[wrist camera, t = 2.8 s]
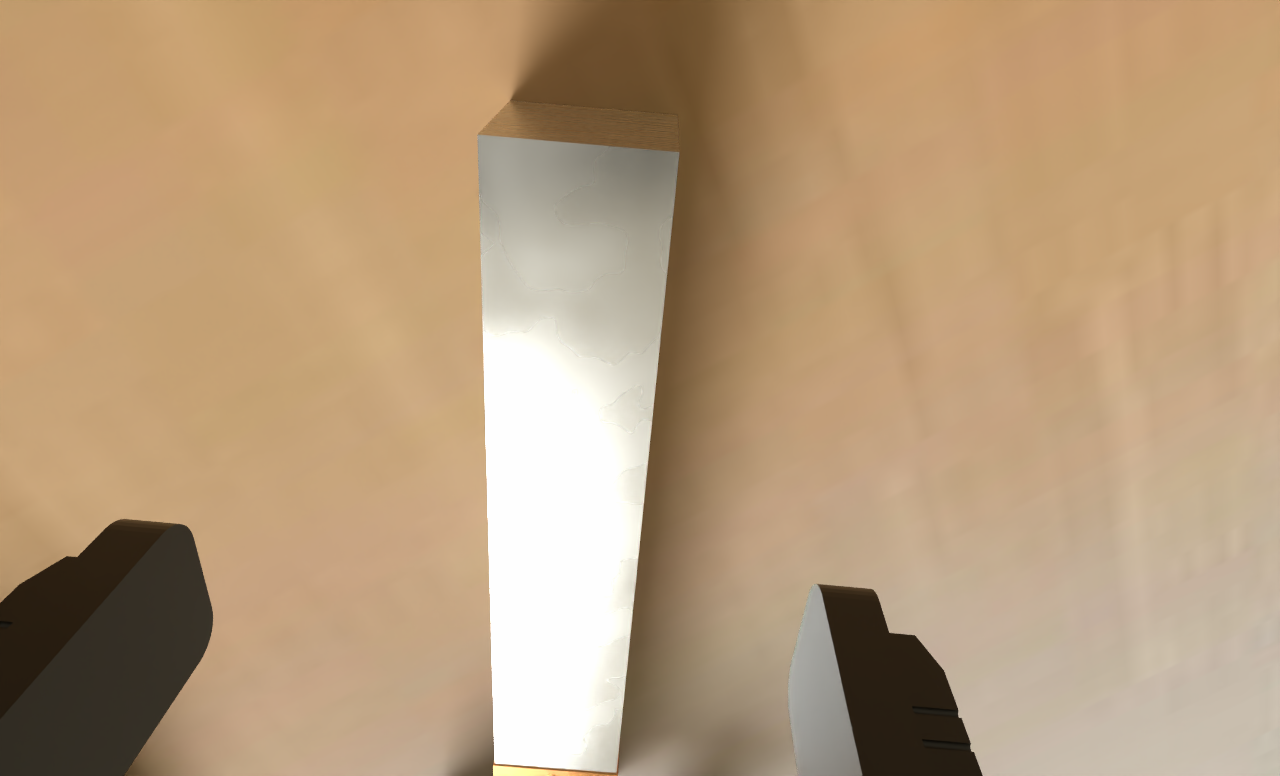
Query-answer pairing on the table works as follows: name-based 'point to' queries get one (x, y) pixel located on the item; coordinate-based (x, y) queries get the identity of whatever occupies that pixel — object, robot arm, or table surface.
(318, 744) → the table surface
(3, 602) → the robot arm
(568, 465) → the orange banded bar
